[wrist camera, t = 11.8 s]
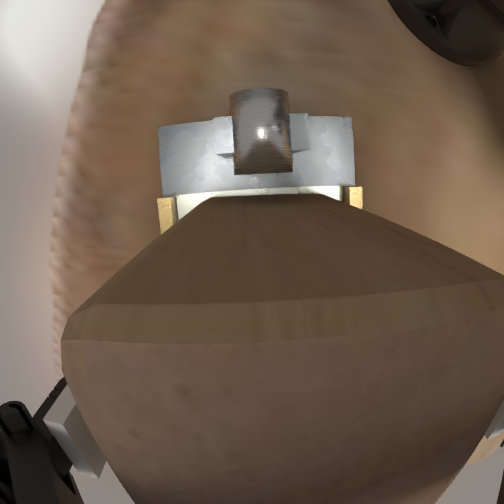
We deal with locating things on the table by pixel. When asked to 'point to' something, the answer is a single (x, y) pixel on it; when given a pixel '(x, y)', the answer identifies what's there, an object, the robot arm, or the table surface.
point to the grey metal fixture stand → (255, 155)
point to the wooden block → (289, 358)
